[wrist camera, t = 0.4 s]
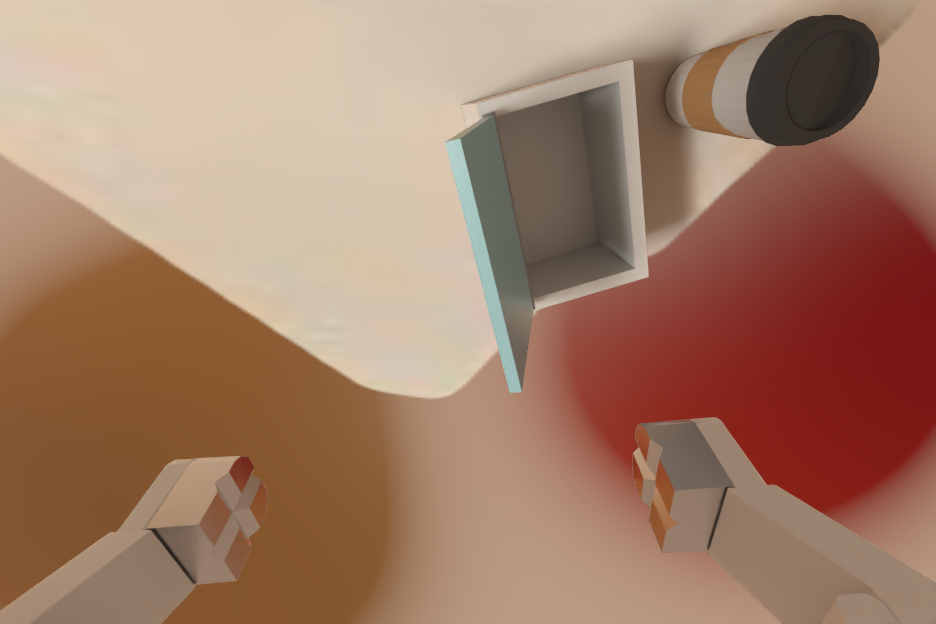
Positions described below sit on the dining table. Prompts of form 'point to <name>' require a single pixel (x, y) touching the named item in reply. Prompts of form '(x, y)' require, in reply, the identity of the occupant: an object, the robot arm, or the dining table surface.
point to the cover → (495, 239)
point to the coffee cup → (779, 82)
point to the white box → (574, 179)
